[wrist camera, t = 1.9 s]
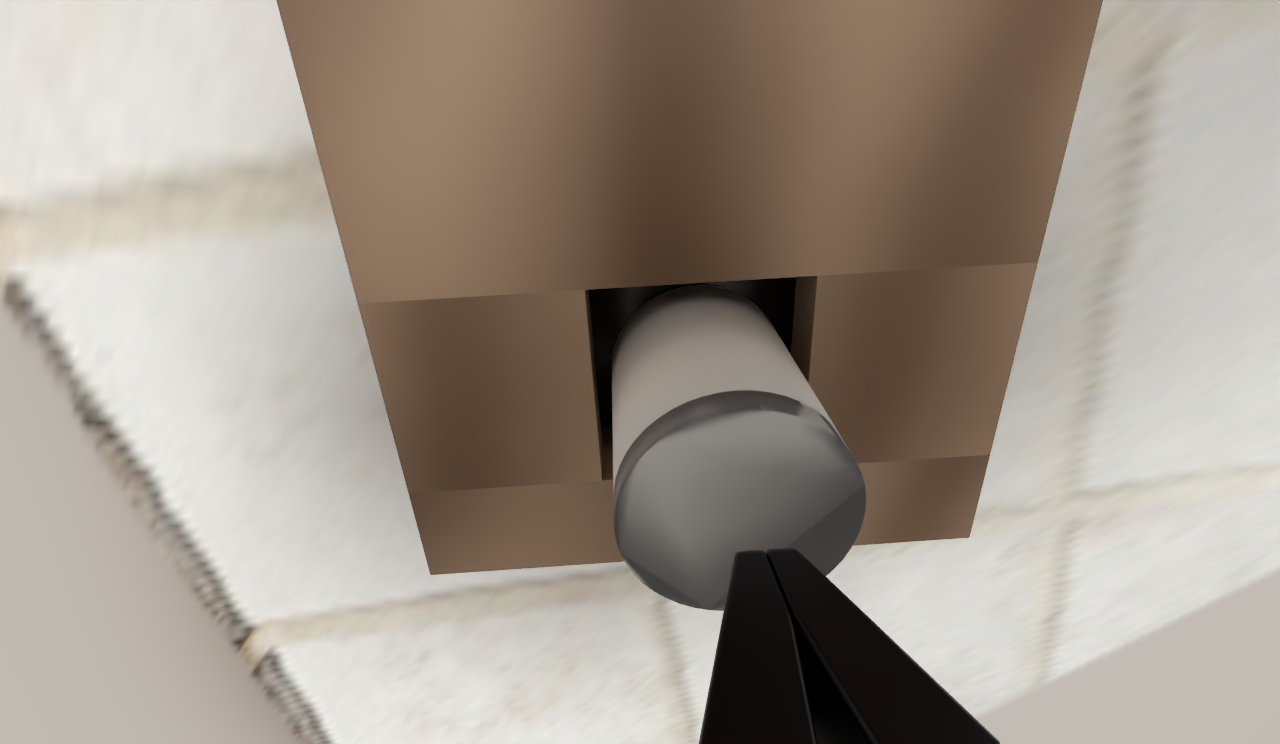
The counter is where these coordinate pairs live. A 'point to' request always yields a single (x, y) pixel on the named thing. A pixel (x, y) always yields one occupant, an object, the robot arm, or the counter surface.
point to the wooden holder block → (684, 227)
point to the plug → (721, 448)
